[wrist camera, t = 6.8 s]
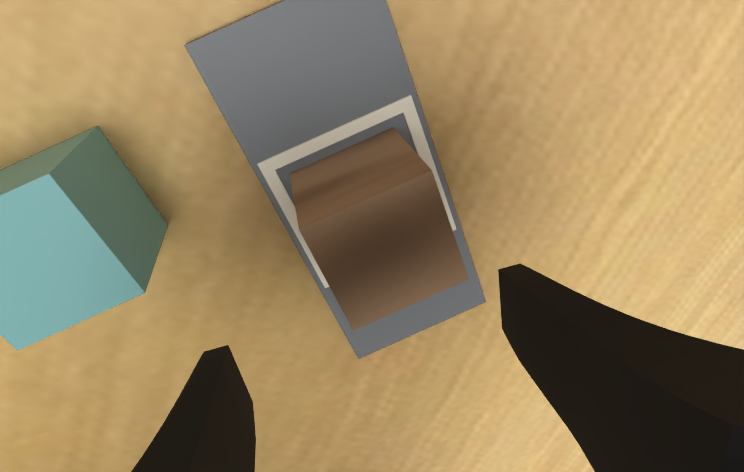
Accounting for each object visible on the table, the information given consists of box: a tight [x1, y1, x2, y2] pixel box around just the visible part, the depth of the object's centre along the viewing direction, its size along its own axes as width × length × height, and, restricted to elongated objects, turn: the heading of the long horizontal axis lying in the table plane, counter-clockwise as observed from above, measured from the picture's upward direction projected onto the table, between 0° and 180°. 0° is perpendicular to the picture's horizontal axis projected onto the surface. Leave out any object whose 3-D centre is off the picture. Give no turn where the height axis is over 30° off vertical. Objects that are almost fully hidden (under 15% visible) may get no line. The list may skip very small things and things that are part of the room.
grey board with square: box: [185, 0, 486, 359], centre depth 21 cm, size 16×7×1 cm, turn 21°
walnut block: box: [289, 127, 469, 331], centre depth 19 cm, size 4×4×5 cm
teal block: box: [0, 126, 168, 350], centre depth 17 cm, size 4×4×5 cm
